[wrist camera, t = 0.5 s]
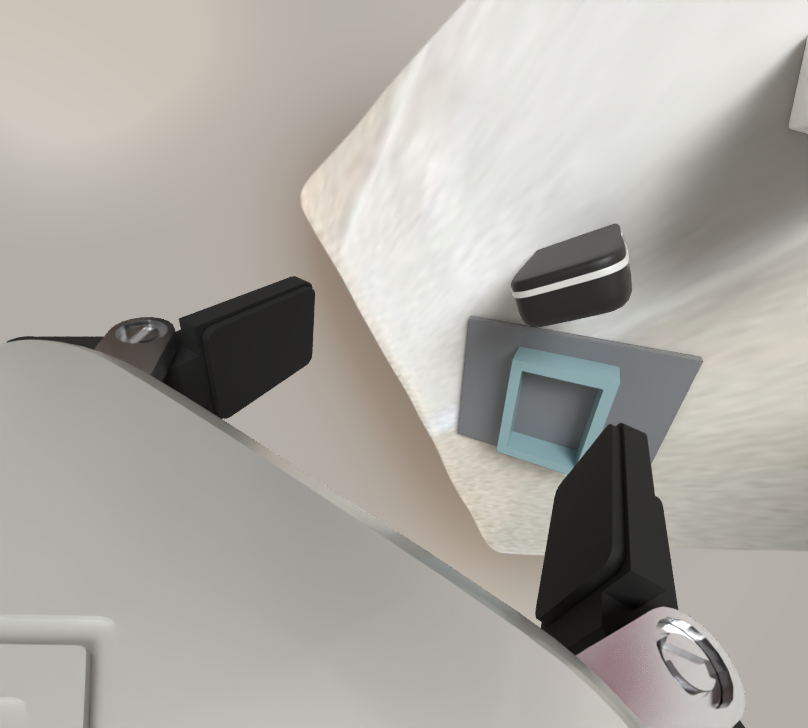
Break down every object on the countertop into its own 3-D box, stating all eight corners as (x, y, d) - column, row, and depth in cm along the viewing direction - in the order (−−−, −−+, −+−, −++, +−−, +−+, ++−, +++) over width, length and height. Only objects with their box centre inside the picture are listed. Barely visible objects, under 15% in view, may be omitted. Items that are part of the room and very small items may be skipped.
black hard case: (543, 290, 32) (518, 339, 24) (532, 251, 31) (501, 287, 22) (631, 266, 28) (640, 315, 20) (621, 220, 27) (627, 250, 18)
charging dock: (701, 356, 29) (711, 379, 26) (636, 485, 37) (639, 513, 34) (471, 315, 37) (459, 329, 34) (460, 429, 45) (449, 448, 42)
